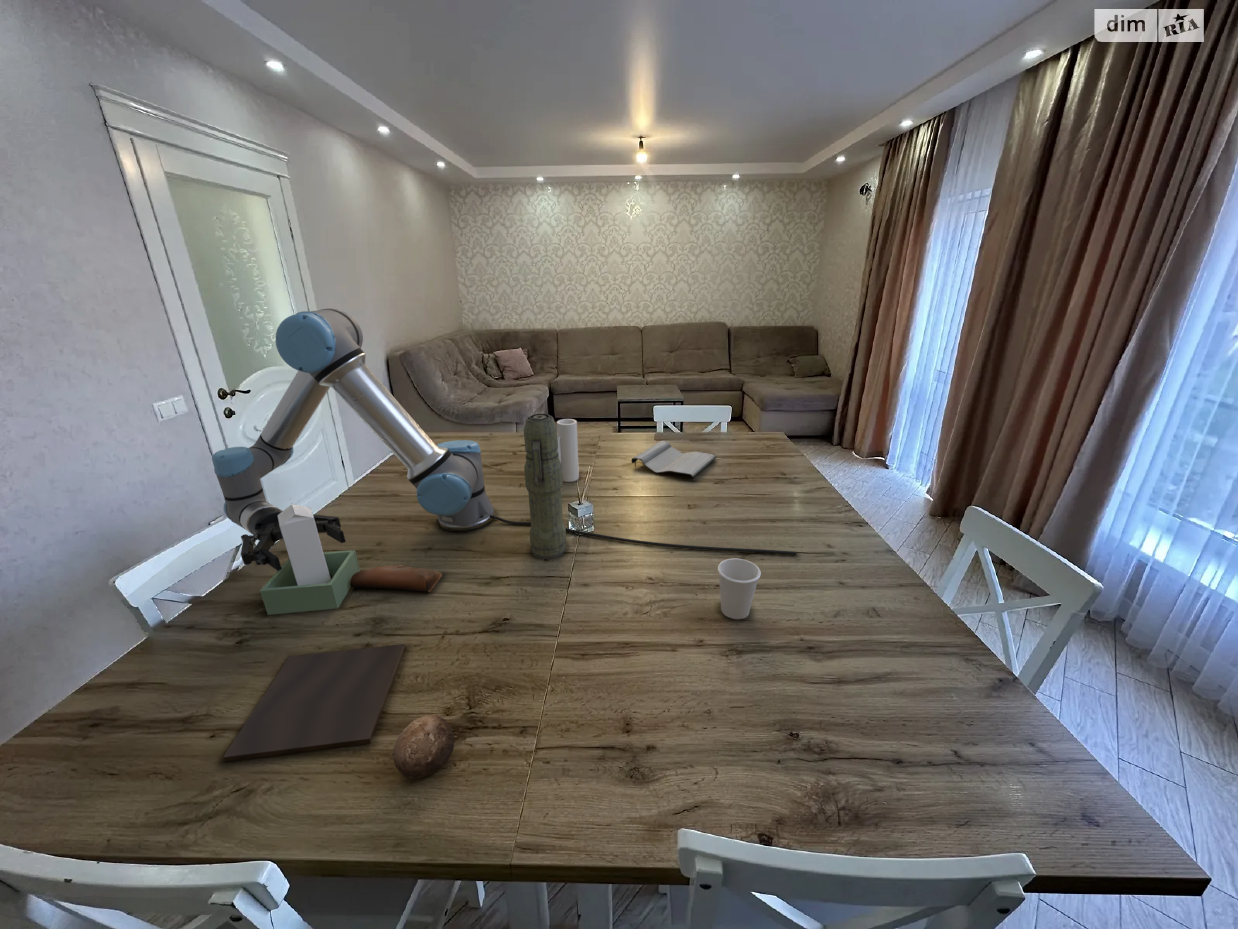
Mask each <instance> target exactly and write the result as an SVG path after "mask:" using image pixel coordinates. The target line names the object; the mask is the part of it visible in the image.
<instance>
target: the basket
mask: <svg viewBox="0 0 1238 929" xmlns="http://www.w3.org/2000/svg"><path fill="white" fill-rule="evenodd" d="M323 553H324V557H325V560H326V564H327V568H328V571H329V575H330V577H332V578H330V579H331V581H330V582H329V583H323V584H311V585H300V586H298V585H297V582H296V578H295V575H294V572H293V569H292V565H291V562H290V559H289V558H288V559H287V560H286V561H284V563H283V564H282V565H281V568H282V569H281V570H279V571H277V570H276V572H275V573H274V574H273V575H272V577H271V578H270V579H269V580H268V581H267V582H266V583H265V584H264V585H263V587H262V588H261V589H260V590H259V593H260V595H261V598H262V601H263V605H264V607H265V610H266V613H267V615H268V616H272V615H283V614H291V613H292V614H293V613H294V614H295V613H305V612H316V611H317V612H318V611H326V610H327V611H328V610H337V609H339V608H340V606H341V605H342V603H343V601H344V599H345V597H346V596H347V595H348V593H349V591H350V589H351V588H352V587H351V585H350V581H351V578H352V576H353V575H354V574H355V573H357V572H360V571H361V569H360V564H359V560H358V556H357V552H356V550H355V549H352V550H351V549H349V550H335V551H326V552H324V551H323Z"/></svg>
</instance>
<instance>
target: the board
mask: <svg viewBox="0 0 1238 929" xmlns="http://www.w3.org/2000/svg"><path fill="white" fill-rule="evenodd" d="M405 651H406V644H405V643H401V644H393V645H392V644H391V645H381V646H373V647H361V648H353V649H344V650H334V651H323V652H315V653H313V652H312V653H305V654H296V655H295V654H293V655H289V656H288V657H287V660H286V661H285V662H284V664H283V666H282V667H281V669H280V670H279V672H278V673H277V674H276V676H275V678H274V679H273V680H272V682H271V684H270V685H269V687H268V688H267V690H266V691H265V693H264V694H263V696H262V697H261V699H260V701H259V702H257V704H256V706H255V708H254V710H253V711H252V712H251V714H250V715H249V716H248V718H247V719H246V722H245V723H244V725H243V726H242V728H240V730H239V732H238V734H236V737H235V738H234V740H233V741H232V742H231V744H230V746H229V747H228V749H227V750H226V752H225V753H224V755H223V757H222V759H223V761H224V762H225V763H227V762H236V761H242V760H251V759H259V758H266V757H268V758H269V757H274V756H282V755H283V756H284V755H289V754H290V755H291V754H297V753H305V752H306V753H307V752H313V751H323V750H329V749H336V748H337V749H338V748H345V747H352V746H361V745H366V744H371V743H372V741H373V739H374V735H375V733H376V730H377V728H378V725H379V722H380V720H381V716H382V714H383V711H384V708H385V707H386V706H385V705H386V703H387V700H388V697H389V694H390V692H391V689H392V686H393V684H394V681H395V678H396V676H397V674H398V670H399V667H400V665H401V662H402V659H403V657H404V654H405Z"/></svg>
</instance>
